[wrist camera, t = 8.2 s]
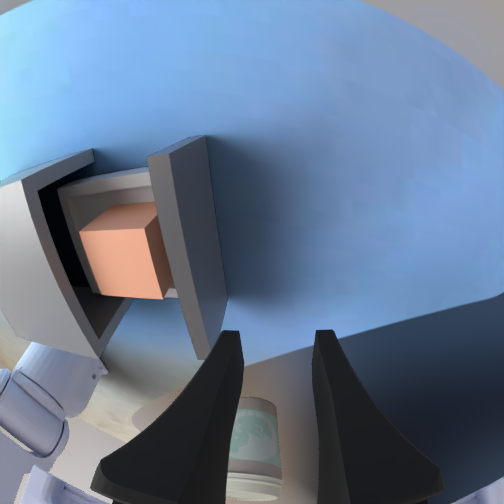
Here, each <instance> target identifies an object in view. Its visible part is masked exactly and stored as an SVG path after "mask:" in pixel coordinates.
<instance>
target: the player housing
mask: <svg viewBox="0 0 504 504" xmlns="http://www.w3.org/2000/svg"><path fill="white" fill-rule="evenodd" d="M93 162H95V160H94V155H93V150H92V149H88V150H84V151H81V152H78V153H74V154H71V155H68V156H64V157H61V158H58V159H55V160H52V161H49V162H46V163H43V164H40V165H38V166H35V167H32V168H29V169H27V170H24V171H22V172H19V173H16V174H14V175H12V176H10V177H8V178H6V179H4V180H2V181H0V310H1V312H2V313H3V315H4V317H5V318H6V320H7V322H8V323H9V325H10V326H11V328H12V330H13V331H14V333H15V334H16V336H18V337H20V338H23V339H26V340H29V341H33V342H36V343H39V344H42V345H45V346H49V347H52V348H56V349H59V350H63V351H67V352H71V353H75V354H79V355H83V356H87V357H91V358H96V359H99V358H100V356H101V355H102V353H103V351H104V349H105V347H106V346H107V344H108V342H109V340H110V339H111V337H112V335H113V333H114V332H115V330H116V328H117V326H118V325H119V323H120V321H121V320H122V318H123V316H124V315H125V313H126V311H127V310H128V308H129V306H130V305H131V303H132V301H133V300H134V298H133V297H120V296H108V295H102V294H96V293H93V292H92V289H91V287H82V286H71V284H70V282H69V280H68V277H67V275H66V273H65V270H64V268H63V266H62V263H61V261H60V258H59V256H58V253H57V250H56V248H55V245H54V242H53V240H52V237H51V234H50V231H49V228H48V225H47V222H46V219H45V216H44V213H43V209H42V206H41V203H40V199H39V195H38V192H37V191H38V190H40V189H41V188H43V187H45V186H47V185H49V184H50V183H52V182H54V181H56V180H58V179H60V178H62V177H64V176H66V175H68V174H70V173H72V172H74V171H76V170H78V169H80V168H82V167H84V166H86V165H88V164H91V163H93Z"/></svg>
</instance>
